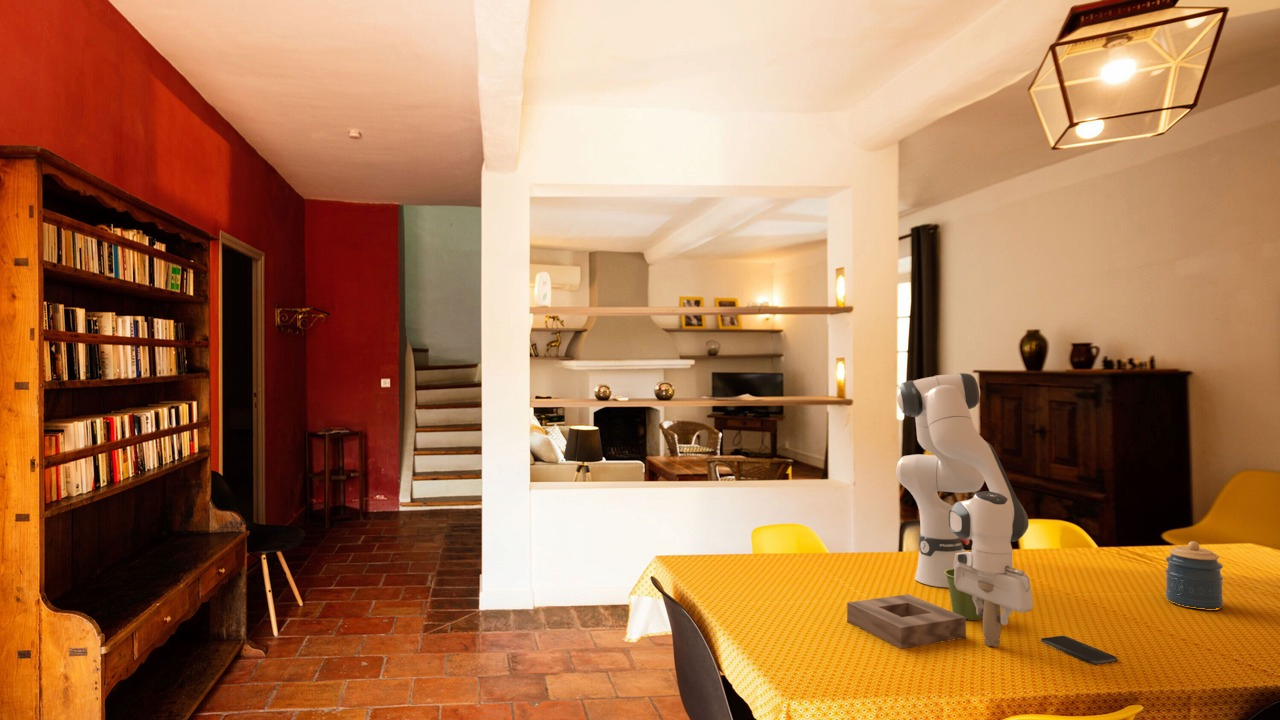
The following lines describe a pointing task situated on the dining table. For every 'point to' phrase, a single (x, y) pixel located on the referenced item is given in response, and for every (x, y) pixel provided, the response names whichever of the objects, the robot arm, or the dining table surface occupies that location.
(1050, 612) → the dining table surface
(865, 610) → the socket block
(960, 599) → the plant pot
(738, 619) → the dining table surface
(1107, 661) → the phone
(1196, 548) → the canister
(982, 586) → the handle
